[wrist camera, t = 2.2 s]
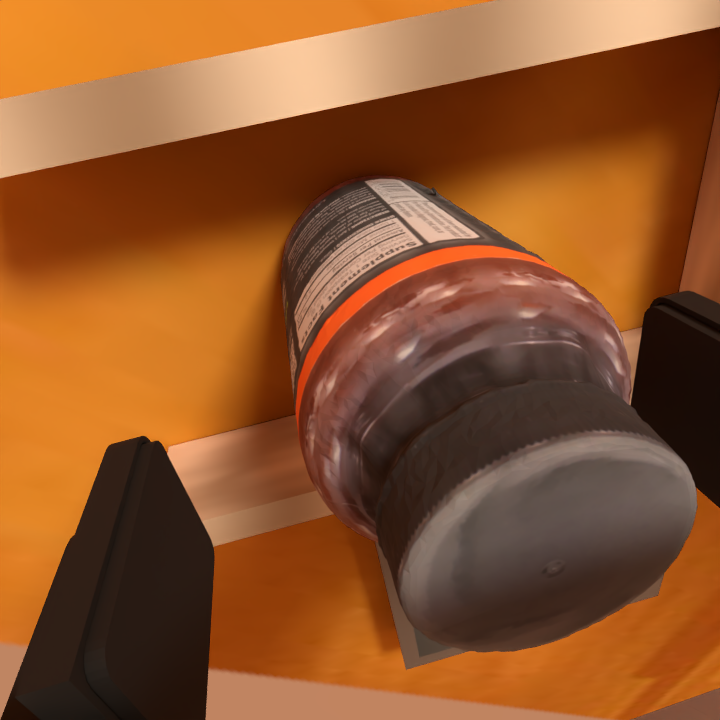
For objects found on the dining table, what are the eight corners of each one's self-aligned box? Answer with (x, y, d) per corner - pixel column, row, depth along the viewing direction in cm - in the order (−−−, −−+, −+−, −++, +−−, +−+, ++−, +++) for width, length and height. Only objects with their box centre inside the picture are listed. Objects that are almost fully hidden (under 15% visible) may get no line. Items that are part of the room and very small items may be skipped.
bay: (779, -50, 13) (962, -93, 10) (690, 338, 20) (781, 393, 16) (-7, 107, 12) (-113, 121, 8) (180, 469, 18) (163, 559, 15)
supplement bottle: (483, 294, 17) (781, 583, 7) (336, 375, 17) (434, 741, 8) (416, 128, 14) (788, 254, 4) (239, 233, 14) (207, 558, 5)
